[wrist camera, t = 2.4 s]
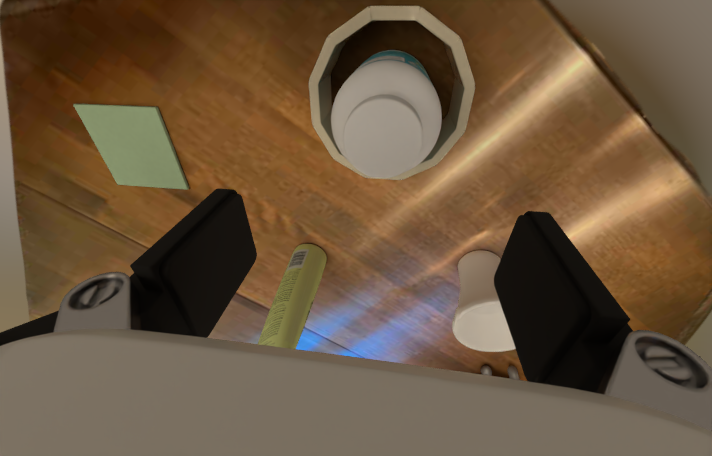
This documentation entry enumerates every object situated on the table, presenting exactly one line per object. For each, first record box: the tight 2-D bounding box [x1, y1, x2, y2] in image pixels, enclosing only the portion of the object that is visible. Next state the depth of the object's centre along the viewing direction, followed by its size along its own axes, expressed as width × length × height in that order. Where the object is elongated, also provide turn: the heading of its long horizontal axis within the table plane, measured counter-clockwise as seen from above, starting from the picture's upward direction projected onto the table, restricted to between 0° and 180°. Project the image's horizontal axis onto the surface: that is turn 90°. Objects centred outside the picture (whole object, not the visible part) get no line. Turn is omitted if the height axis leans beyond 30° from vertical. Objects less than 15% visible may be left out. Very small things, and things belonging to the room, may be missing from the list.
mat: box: [73, 104, 189, 190], centre depth 34 cm, size 10×10×1 cm
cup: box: [452, 250, 516, 352], centre depth 34 cm, size 9×9×10 cm
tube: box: [258, 244, 327, 349], centre depth 34 cm, size 6×5×20 cm
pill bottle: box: [331, 50, 442, 178], centre depth 22 cm, size 8×7×14 cm
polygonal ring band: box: [309, 6, 475, 180], centre depth 25 cm, size 13×13×5 cm
